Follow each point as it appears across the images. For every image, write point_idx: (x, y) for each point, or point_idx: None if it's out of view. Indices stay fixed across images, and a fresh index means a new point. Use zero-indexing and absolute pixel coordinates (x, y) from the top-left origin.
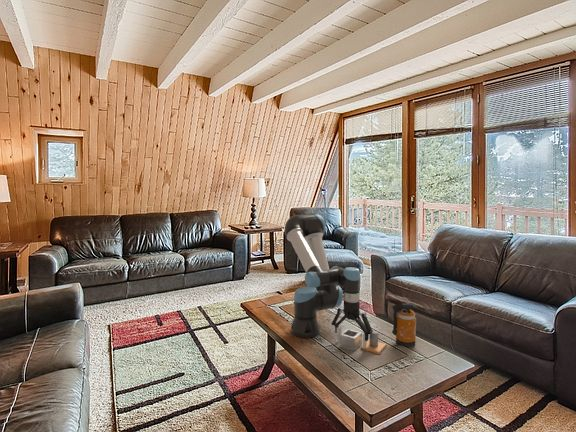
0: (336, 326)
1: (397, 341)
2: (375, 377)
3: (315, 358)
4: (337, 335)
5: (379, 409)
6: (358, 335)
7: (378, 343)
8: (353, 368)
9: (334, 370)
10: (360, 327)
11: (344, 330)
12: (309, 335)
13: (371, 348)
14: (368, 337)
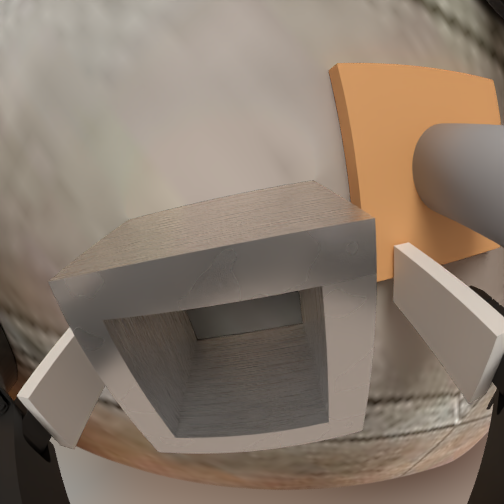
0: (50, 451)
1: (499, 7)
2: (474, 401)
3: (207, 474)
4: (102, 381)
5: (474, 444)
6: (370, 358)
7: (458, 102)
8: (392, 434)
9: (328, 474)
10: (471, 496)
11: (95, 367)
12: (10, 379)
13: (452, 244)
14: (496, 302)
